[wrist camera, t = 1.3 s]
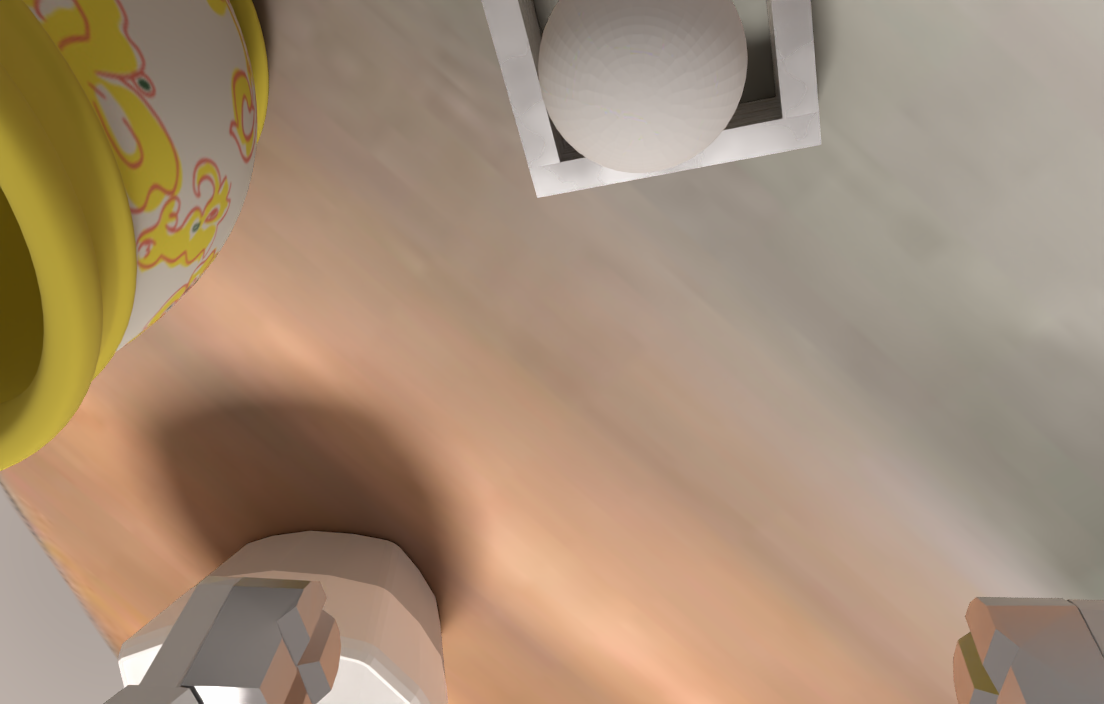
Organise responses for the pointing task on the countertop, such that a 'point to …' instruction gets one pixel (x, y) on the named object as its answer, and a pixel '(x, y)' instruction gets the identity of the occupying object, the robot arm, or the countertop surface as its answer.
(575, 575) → the countertop surface
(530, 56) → the socket collar
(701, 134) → the light bulb
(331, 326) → the countertop surface
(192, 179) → the flowerpot
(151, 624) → the bowl
